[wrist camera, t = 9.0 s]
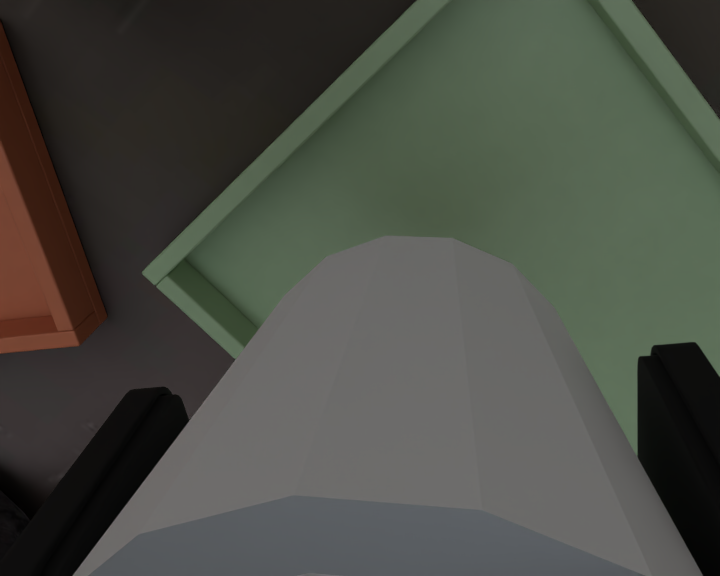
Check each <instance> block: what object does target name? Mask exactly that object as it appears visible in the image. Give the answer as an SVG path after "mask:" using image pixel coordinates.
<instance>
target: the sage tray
mask: <svg viewBox="0 0 720 576" xmlns="http://www.w3.org/2000/svg"><path fill="white" fill-rule="evenodd" d="M383 236H413V237H441V238H454V239H456V240H458V241H461V242H463V243H465V244H467V245H470V246H472V247H474V248H477V249H479V250H481V251H484V252H486V253H488V254H491V255H493V256H495V257H498V258H500V259H502V260H505V261H507V262H509V263H512V264H513V265H514V266H515V267H516V268H517V269H518V270H519V271H520V272H521V273H522V274H523V275H524V276H525V277H526V279H527V280H528V281H529V282H530V283H531V284H532V285H533V286H534V287H535V288H536V289H537V290H538V291H539V292H540V293H541V294H542V295H543V296H544V297H545V298H546V299H547V300H548V301H549V302H550V303H551V304H552V306H553V307H554V308H555V309H556V311H557V313H558V315H559V317H560V318H561V320H562V322H563V324H564V326H565V327H566V329H567V331H568V333H569V335H570V336H571V338H572V340H573V342H574V344H575V345H576V347H577V349H578V351H579V353H580V355H581V356H582V358H583V360H584V362H585V364H586V365H587V367H588V369H589V371H590V373H591V374H592V376H593V378H594V380H595V382H596V383H597V385H598V387H599V389H600V391H601V392H602V394H603V396H604V398H605V400H606V401H607V403H608V405H609V407H610V409H611V410H612V412H613V414H614V416H615V418H616V420H617V421H618V423H619V425H620V427H621V429H622V430H623V432H624V434H625V436H626V438H627V439H628V441H629V443H630V445H631V447H632V448H633V450H634V452H635V454H636V456H637V457H638V446H637V365H638V358H639V357H640V356H650V353H651V349H652V347H653V345H663V344H675V343H687V342H696V343H697V344H698V346H699V347H700V348H701V350H702V351H703V353H704V354H705V356H706V357H707V359H708V360H709V362H710V363H711V365H712V366H713V368H714V369H715V371H716V372H717V374H718V375H719V377H720V119H719V118H718V116H717V115H716V114H715V112H714V111H713V110H712V108H711V107H710V106H709V104H708V103H707V101H706V100H705V99H704V97H703V96H702V95H701V93H700V92H699V91H698V89H697V88H696V87H695V85H694V84H693V83H692V81H691V80H690V78H689V77H688V76H687V74H686V73H685V72H684V70H683V69H682V68H681V66H680V65H679V64H678V62H677V61H676V60H675V58H674V57H673V55H672V54H671V53H670V51H669V50H668V49H667V47H666V46H665V45H664V43H663V42H662V41H661V39H660V38H659V37H658V35H657V34H656V33H655V31H654V30H653V28H652V27H651V26H650V24H649V23H648V22H647V20H646V19H645V18H644V16H643V15H642V14H641V12H640V11H639V10H638V8H637V7H636V5H635V4H634V3H633V1H632V0H416V1H415V2H414V3H413V4H412V5H411V6H410V7H409V8H408V9H407V10H406V11H405V12H404V13H403V14H402V15H401V16H400V17H399V18H398V19H397V20H396V21H395V22H394V23H393V24H392V25H391V26H390V27H389V28H388V29H387V30H386V31H385V32H384V33H383V34H382V35H381V36H380V37H379V38H378V39H377V40H376V41H375V42H374V43H373V44H372V45H371V46H370V47H369V48H368V49H367V50H366V51H365V52H364V53H363V54H362V55H361V56H360V57H359V58H358V59H357V60H355V61H354V62H353V63H352V64H351V65H350V66H349V67H348V68H347V69H346V70H345V71H344V72H343V73H342V74H341V75H340V76H339V77H338V78H337V79H336V80H335V81H334V82H333V83H332V84H331V85H330V86H329V87H328V88H327V89H326V90H325V91H324V92H323V93H322V94H321V95H320V96H319V97H318V98H317V99H316V100H315V101H314V102H313V103H312V104H311V105H310V106H309V107H308V108H307V109H306V110H305V111H304V112H303V113H302V114H301V115H300V116H299V117H298V118H297V119H296V120H295V121H294V122H293V123H292V124H291V125H290V126H289V127H288V128H287V129H286V130H285V131H284V132H283V133H282V134H281V135H280V136H279V137H278V138H277V139H276V140H275V141H274V142H273V143H272V144H271V145H269V146H268V147H267V148H266V149H265V150H264V151H263V152H262V153H261V154H260V155H259V156H258V157H257V158H256V159H255V160H254V161H253V162H252V163H251V164H250V165H249V166H248V167H247V168H246V169H245V170H244V171H243V172H242V173H241V174H240V175H239V176H238V177H237V178H236V179H235V180H234V181H233V182H232V183H231V184H230V185H229V186H228V187H227V188H226V189H225V190H224V191H223V192H222V193H221V194H220V195H219V196H218V197H217V198H216V199H215V200H214V201H213V202H212V203H211V204H210V205H209V206H208V207H207V208H206V209H205V210H204V211H203V212H202V213H201V214H200V215H199V216H198V217H197V218H196V219H195V220H194V221H193V222H192V223H191V224H190V225H189V226H188V227H187V228H186V229H185V230H184V231H182V232H181V233H180V234H179V235H178V236H177V237H176V238H175V239H174V240H173V241H172V242H171V243H170V244H169V245H168V246H167V247H166V248H165V249H164V250H163V251H162V252H161V253H160V254H159V255H158V256H157V257H156V258H155V259H154V260H153V261H152V262H151V263H150V264H149V265H148V266H147V267H146V268H145V269H144V270H143V271H142V274H143V275H144V276H145V277H146V278H147V279H148V280H149V281H150V282H151V283H152V284H154V285H157V286H156V287H157V288H158V289H159V290H160V291H161V292H162V293H163V294H164V295H166V296H167V297H168V298H169V299H170V300H171V301H172V302H173V303H174V304H175V305H177V306H178V307H179V308H180V309H181V310H182V311H183V312H184V313H185V314H186V315H187V316H189V317H190V318H191V319H192V320H193V321H194V322H195V323H196V324H197V325H198V326H199V327H201V328H202V329H203V330H204V331H205V332H206V333H207V334H208V335H209V336H210V337H212V338H213V339H214V340H215V341H216V342H217V343H218V344H219V345H220V346H221V347H222V348H224V349H225V350H226V351H227V352H228V353H229V354H230V355H231V356H232V357H233V358H234V359H237V357H238V356H239V355H240V353H241V352H242V351H243V349H244V348H245V347H246V345H247V344H248V343H249V341H250V340H251V339H252V337H253V336H254V335H255V334H256V332H257V331H258V330H259V328H260V327H261V326H262V324H263V323H264V322H265V320H266V319H267V318H268V316H269V315H270V314H271V312H272V311H273V310H274V308H275V307H276V306H277V304H278V303H279V302H280V300H281V299H282V298H283V296H284V295H285V294H286V293H287V292H288V291H290V290H291V289H292V288H293V287H294V286H295V285H296V284H297V283H298V282H299V281H300V280H301V279H303V278H304V277H305V276H306V275H307V274H308V273H309V272H310V271H311V270H312V269H313V268H315V267H316V266H317V265H318V264H319V263H320V262H321V261H322V260H323V259H324V258H325V257H326V256H329V255H332V254H335V253H338V252H340V251H343V250H346V249H349V248H352V247H355V246H358V245H360V244H363V243H366V242H369V241H372V240H375V239H377V238H380V237H383Z"/></svg>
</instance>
